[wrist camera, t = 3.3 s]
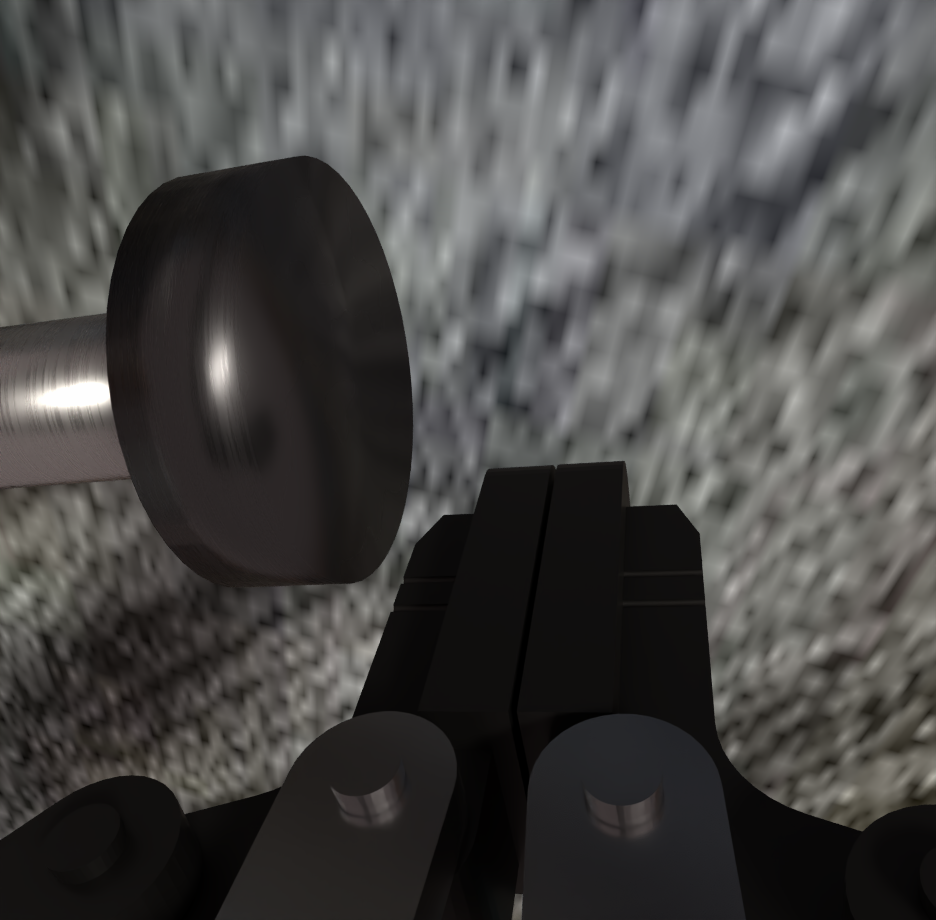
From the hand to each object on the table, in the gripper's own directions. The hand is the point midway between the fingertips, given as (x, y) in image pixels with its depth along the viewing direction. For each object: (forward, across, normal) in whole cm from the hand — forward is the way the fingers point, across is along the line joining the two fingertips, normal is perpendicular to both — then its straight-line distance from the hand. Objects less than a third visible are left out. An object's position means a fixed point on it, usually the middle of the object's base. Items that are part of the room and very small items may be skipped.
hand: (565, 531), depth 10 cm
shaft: (+8, +13, 0) cm, 15 cm away
